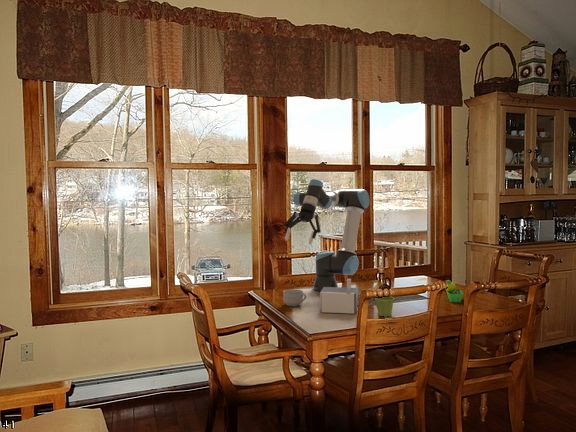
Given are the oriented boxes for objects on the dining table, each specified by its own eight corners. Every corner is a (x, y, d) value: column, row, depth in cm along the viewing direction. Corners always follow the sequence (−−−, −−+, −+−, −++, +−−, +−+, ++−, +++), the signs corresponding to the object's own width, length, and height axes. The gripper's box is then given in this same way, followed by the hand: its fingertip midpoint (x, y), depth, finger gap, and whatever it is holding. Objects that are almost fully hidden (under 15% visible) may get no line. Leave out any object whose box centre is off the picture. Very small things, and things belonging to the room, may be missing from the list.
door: (320, 311, 234) (320, 278, 233) (354, 312, 231) (354, 278, 230) (319, 312, 232) (319, 278, 231) (353, 313, 229) (353, 279, 228)
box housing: (323, 305, 248) (323, 286, 247) (357, 306, 244) (357, 287, 244) (320, 312, 234) (320, 292, 233) (356, 313, 230) (356, 293, 230)
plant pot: (373, 313, 231) (373, 296, 230) (391, 312, 232) (391, 295, 231) (378, 318, 222) (377, 300, 221) (397, 317, 222) (397, 299, 222)
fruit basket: (463, 303, 249) (463, 282, 248) (446, 302, 251) (446, 281, 250) (460, 298, 260) (460, 278, 259) (443, 297, 262) (443, 277, 261)
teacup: (279, 305, 250) (278, 290, 249) (294, 301, 257) (294, 287, 256) (296, 310, 239) (295, 294, 239) (311, 306, 246) (311, 291, 246)
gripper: (286, 199, 249) (273, 235, 241) (329, 205, 239) (318, 242, 231) (290, 206, 255) (278, 241, 247) (332, 211, 245) (322, 248, 237)
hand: (297, 241), depth 239 cm, fingers open, 13 cm apart
